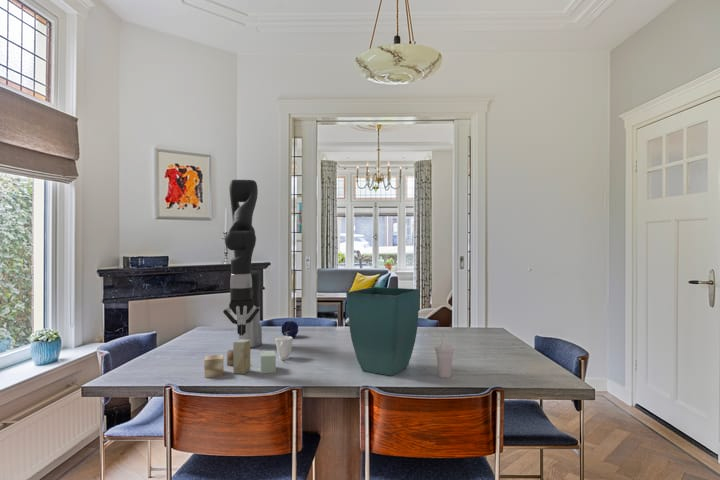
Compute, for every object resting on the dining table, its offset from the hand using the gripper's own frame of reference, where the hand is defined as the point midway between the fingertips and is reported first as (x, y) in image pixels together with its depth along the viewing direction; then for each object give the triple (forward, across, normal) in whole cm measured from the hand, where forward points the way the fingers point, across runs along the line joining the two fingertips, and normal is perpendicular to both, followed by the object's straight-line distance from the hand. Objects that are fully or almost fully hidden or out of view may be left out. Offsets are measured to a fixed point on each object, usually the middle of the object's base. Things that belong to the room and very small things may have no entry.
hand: (241, 335), depth 154 cm
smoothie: (+13, +66, -26) cm, 72 cm away
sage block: (+13, +9, 0) cm, 16 cm away
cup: (+13, +16, +13) cm, 24 cm away
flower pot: (+13, +49, -13) cm, 53 cm away
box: (+13, 0, 0) cm, 13 cm away
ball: (+13, +23, +53) cm, 59 cm away
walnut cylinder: (+13, -3, +11) cm, 17 cm away
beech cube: (+13, -9, 0) cm, 16 cm away
